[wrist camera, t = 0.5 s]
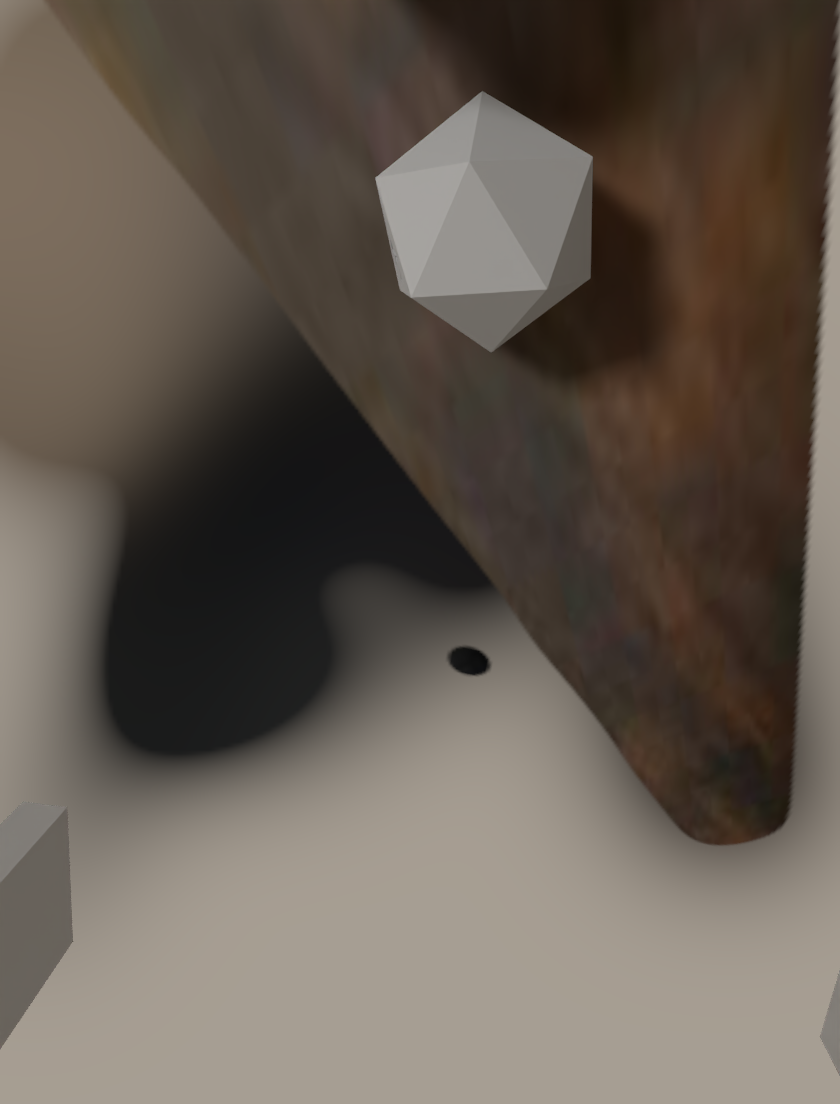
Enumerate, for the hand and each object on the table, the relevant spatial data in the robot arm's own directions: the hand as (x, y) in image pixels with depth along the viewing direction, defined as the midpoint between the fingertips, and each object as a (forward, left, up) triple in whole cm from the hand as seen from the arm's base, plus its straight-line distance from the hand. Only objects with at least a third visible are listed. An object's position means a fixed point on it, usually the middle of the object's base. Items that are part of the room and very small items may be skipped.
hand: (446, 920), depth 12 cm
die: (-6, 0, -29) cm, 30 cm away
